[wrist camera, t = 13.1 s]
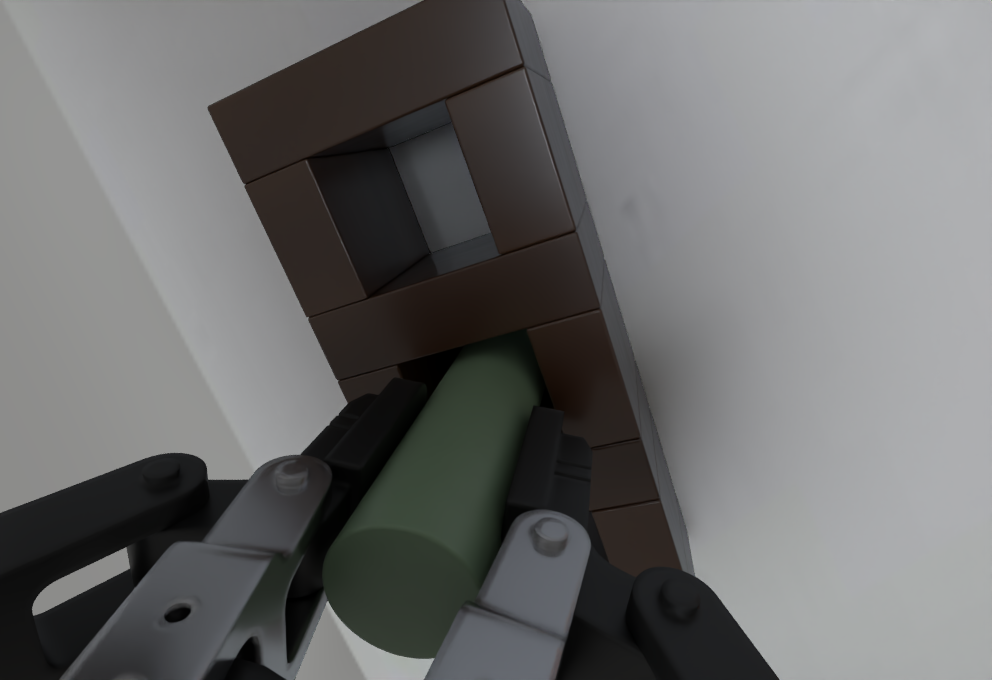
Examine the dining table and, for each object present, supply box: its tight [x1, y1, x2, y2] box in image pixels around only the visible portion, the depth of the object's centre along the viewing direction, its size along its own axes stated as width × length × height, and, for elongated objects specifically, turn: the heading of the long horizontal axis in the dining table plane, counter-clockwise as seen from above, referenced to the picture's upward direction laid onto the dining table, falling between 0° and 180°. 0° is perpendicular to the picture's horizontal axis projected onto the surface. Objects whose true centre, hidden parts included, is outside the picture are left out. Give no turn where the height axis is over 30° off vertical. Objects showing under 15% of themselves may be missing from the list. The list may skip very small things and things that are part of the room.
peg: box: [322, 328, 546, 659], centre depth 13 cm, size 3×3×9 cm
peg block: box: [208, 0, 695, 577], centre depth 16 cm, size 17×7×5 cm, turn 20°
